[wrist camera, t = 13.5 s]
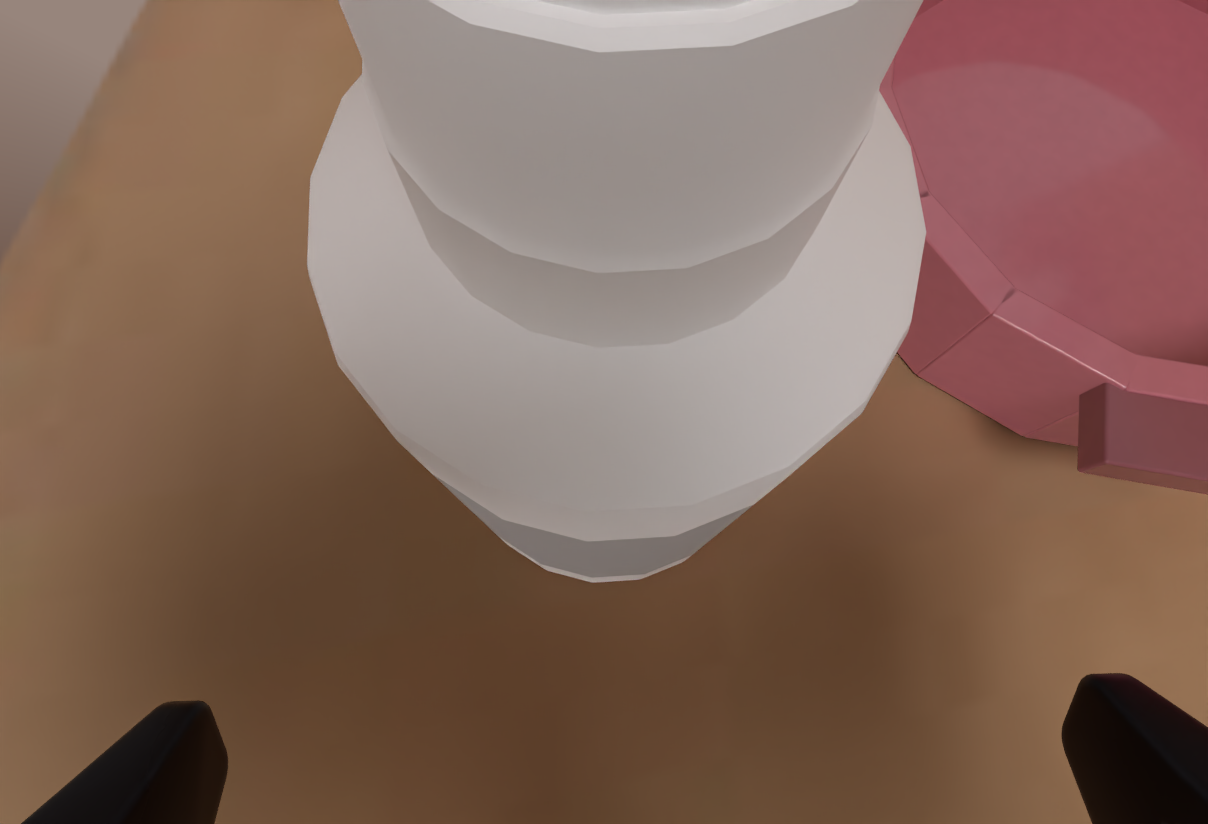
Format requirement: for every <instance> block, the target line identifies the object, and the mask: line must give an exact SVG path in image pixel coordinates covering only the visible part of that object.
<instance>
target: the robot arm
mask: <svg viewBox="0 0 1208 824" xmlns="http://www.w3.org/2000/svg"><path fill="white" fill-rule="evenodd" d="M1062 743H1063V747H1064V751H1065V754H1066V756H1067V759H1068V762H1069V764H1070V767H1071V769H1072V772H1073V775H1074V777H1075V780H1076V782H1077V785H1078V788H1079V790H1080V793H1081V795H1082V798H1083V801H1084V803H1085V806H1086V808H1087V811H1088V814H1089V816H1090V819H1091V821H1092V824H1208V727H1206V726H1205V725H1204V724H1202V723H1201V722H1199V721H1198V720H1196V719H1195V718H1193V717H1192V716H1190V715H1189V714H1187V713H1186V712H1184V711H1183V710H1181V709H1180V708H1178V707H1177V706H1176V705H1174V704H1173V703H1171V702H1170V701H1168V700H1167V699H1165V698H1164V697H1162V696H1161V695H1159V694H1158V693H1156V692H1155V691H1153V690H1152V689H1151V688H1149V687H1148V686H1146V685H1145V684H1143V683H1142V682H1140V681H1139V680H1137V679H1135V678H1134V677H1132V676H1129V675H1127V674H1122V673H1108V674H1090V675H1086V676H1085V677H1084V678H1083V679H1081V681H1080V683H1079V685H1078V687H1077V690H1076V692H1075V695H1074V697H1073V700H1072V702H1071V705H1070V707H1069V710H1068V712H1067V715H1066V717H1065V720H1064V723H1063V726H1062ZM227 770H228V756H227V751H226V748H225V745H224V742H223V740H222V737H221V734H220V732H219V729H218V726H217V724H216V721H215V718H214V716H213V713H212V711H211V709H210V707H209V705H207V704H206V703H205V702H204V701H172V702H166V703H163V704H162V705H160V706H158V707H157V708H155V709H154V710H153V711H152V712H150V713H149V714H148V715H147V716H146V717H145V718H143V719H142V720H141V721H140V722H139V723H138V724H136V725H135V726H134V727H133V728H132V729H131V730H130V731H128V732H127V733H126V734H125V735H124V736H123V737H121V738H120V739H119V740H118V741H117V742H116V743H114V744H113V745H112V746H111V747H110V748H109V749H107V750H106V751H105V752H104V753H103V754H102V755H100V756H99V757H98V758H97V759H96V760H95V761H93V762H92V763H91V764H90V765H89V766H88V767H86V768H85V769H84V770H83V771H82V772H81V773H79V774H78V775H77V776H76V777H75V778H74V779H73V780H71V781H70V782H69V783H68V784H67V785H66V786H64V787H63V788H62V789H61V790H60V791H59V792H57V793H56V794H55V795H54V796H53V797H52V798H50V799H49V800H48V801H47V802H46V803H45V804H43V805H42V806H41V807H40V808H39V809H38V810H36V811H35V812H34V813H33V814H32V815H31V816H29V817H28V818H27V819H26V820H25V821H24V822H22V823H21V824H214V823H215V819H216V815H217V811H218V807H219V803H220V800H221V796H222V792H223V788H224V784H225V780H226V776H227Z"/></svg>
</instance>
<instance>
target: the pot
mask: <svg viewBox="0 0 1208 824" xmlns="http://www.w3.org/2000/svg"><path fill="white" fill-rule="evenodd" d="M879 91H880V93H881V95H882V97H883V98H884V100H885V102H886V104H887V105H888V107H889V109H890V111H891V113H892V114H893V116H894V118H895V120H896V121H897V123H898V125H899V127H900V129H901V130H902V132H903V134H904V136H905V137H906V139H907V141H908V143H909V145H910V146H911V152H912V157H913V163H914V168H915V173H916V179H917V184H918V190H919V195H920V200H921V206H922V211H923V217H924V222H925V228H926V237H925V243H924V249H923V255H922V261H921V267H920V273H919V279H918V285H917V290H916V296H915V302H914V308H913V314H912V320H911V324H910V327H909V331H908V333H907V335H906V337H905V339H904V340H903V342H902V344H901V346H900V347H899V349H898V351H897V353H898V354H899V355H900V356H901V358H902V359H903V360H904V361H905V362H906V364H907V365H908V366H909V367H910V368H911V370H912V371H913V372H914V373H915V374H917V375H918V376H919V377H921V378H922V379H924V380H926V381H927V382H929V383H931V384H933V385H934V386H936V387H938V388H940V389H941V390H943V391H945V392H946V393H948V394H950V395H952V396H953V397H955V398H957V399H959V400H960V401H962V402H964V403H966V404H967V405H969V406H971V407H972V408H974V409H976V410H978V411H979V412H981V413H983V414H985V415H986V416H988V417H990V418H992V419H993V420H995V421H997V422H998V423H1000V424H1002V425H1004V426H1005V427H1007V428H1009V429H1011V430H1012V431H1014V432H1016V433H1017V434H1019V435H1021V436H1024V437H1026V438H1032V439H1038V440H1044V441H1049V442H1055V443H1061V444H1067V445H1073V446H1078V460H1077V469H1078V471H1079V472H1081V473H1087V474H1092V475H1098V476H1104V477H1110V478H1115V479H1121V480H1127V481H1133V482H1138V483H1144V484H1150V485H1156V486H1161V487H1167V488H1173V489H1179V490H1184V491H1190V492H1196V493H1201V494H1207V495H1208V0H923V2H922V4H921V6H920V8H919V10H918V12H917V14H916V16H915V18H914V20H913V22H912V24H911V25H910V27H909V29H908V31H907V33H906V35H905V37H904V39H903V41H902V43H901V45H900V47H899V49H898V51H897V53H896V55H895V57H894V59H893V60H892V62H891V64H890V66H889V68H888V70H887V72H886V74H885V76H884V78H883V80H882V82H881V84H880V88H879Z"/></svg>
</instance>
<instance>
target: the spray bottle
mask: <svg viewBox="0 0 1208 824" xmlns="http://www.w3.org/2000/svg"><path fill="white" fill-rule="evenodd" d="M338 1H339V4H340V6H341V8H342V11H343V13H344V16H345V18H346V21H347V23H348V25H349V28H350V30H351V33H352V35H353V37H354V40H355V42H356V45H357V47H358V50H359V52H360V54H361V57H362V74H361V76H360V77H359V78H358V79H357V80H356V82H355V83H354V84H353V85H352V86H351V88H350V89H349V90H348V91H347V92H346V94H345V95H344V96H343V97H342V99H341V102H340V104H339V107H338V109H337V112H336V114H335V117H334V119H333V122H332V124H331V127H330V129H329V132H328V134H327V137H326V139H325V142H324V144H323V147H322V150H321V152H320V155H319V157H318V160H317V162H316V165H315V167H314V170H313V172H312V175H311V177H310V200H309V227H308V254H307V268H308V273H309V278H310V281H311V284H312V287H313V290H314V293H315V296H316V299H317V302H318V305H319V309H320V312H321V315H322V318H323V321H324V324H325V327H326V330H327V333H328V336H329V339H330V342H331V345H332V348H333V352H334V355H335V358H336V361H337V364H338V366H339V367H340V368H341V370H342V371H343V372H344V373H345V375H346V376H347V377H348V379H349V380H350V381H351V382H352V384H353V385H354V386H355V388H356V389H357V390H358V391H359V393H360V394H361V395H362V397H363V398H364V399H365V400H366V402H367V403H368V404H369V406H370V407H371V408H372V409H373V411H374V412H375V413H376V415H377V416H378V417H379V418H380V420H381V421H382V422H383V423H384V425H385V426H386V427H387V429H388V430H389V431H390V432H391V434H392V435H393V436H394V438H395V439H396V440H397V441H398V442H399V443H400V444H401V445H402V446H403V447H404V448H405V449H406V450H407V451H408V452H409V453H410V454H411V455H413V456H414V457H415V458H416V459H417V460H418V461H419V462H420V463H421V464H422V465H423V466H424V467H425V468H426V469H427V470H428V471H430V472H431V473H432V474H433V475H434V476H435V477H436V478H437V479H438V480H439V481H440V482H441V483H442V484H443V485H444V486H445V487H447V488H448V489H449V490H450V491H451V492H452V493H453V494H454V495H455V496H456V497H457V498H458V499H459V500H460V501H461V502H462V503H463V504H465V505H466V506H467V507H468V508H469V509H470V510H471V511H472V512H473V513H474V514H475V515H476V516H477V517H478V518H479V519H480V520H482V521H483V522H484V523H485V524H486V525H487V526H488V527H489V528H490V529H491V530H492V531H493V532H494V533H495V534H496V535H497V536H499V537H500V538H501V539H502V540H503V541H504V542H505V543H506V544H507V545H508V546H510V547H511V548H513V549H514V550H516V551H517V552H519V553H521V554H522V555H524V556H525V557H527V558H528V559H530V560H531V561H533V562H534V563H536V564H537V565H539V566H540V567H542V568H543V569H545V570H547V571H550V572H554V573H558V574H562V575H565V576H569V577H573V578H577V579H581V580H584V581H588V582H592V583H595V582H611V581H627V580H640V579H643V578H645V577H648V576H650V575H653V574H655V573H658V572H660V571H663V570H665V569H668V568H670V567H672V566H675V565H677V564H680V563H682V562H684V561H685V560H687V559H688V558H689V557H690V556H692V555H693V554H694V553H695V552H697V551H698V550H699V549H700V548H701V547H703V546H704V545H705V544H706V543H708V542H709V541H710V540H711V539H712V538H714V537H715V536H716V535H717V534H719V533H720V532H721V531H722V530H723V529H725V528H726V527H727V526H728V525H730V524H731V523H732V522H733V521H734V520H736V519H737V518H738V517H739V516H741V515H742V514H743V513H744V512H746V511H747V510H748V509H749V508H750V507H752V506H753V505H754V504H755V503H757V502H758V501H759V500H760V499H761V498H763V497H764V496H765V495H766V494H768V493H769V492H770V491H771V490H772V489H774V488H775V487H776V486H777V485H779V484H780V483H781V482H782V481H784V480H785V479H786V478H787V477H788V476H789V475H791V474H792V473H793V472H794V471H795V470H796V469H798V468H799V467H800V466H801V465H802V464H803V463H805V462H806V461H807V460H808V459H809V458H810V457H812V456H813V455H814V454H815V453H816V452H817V451H819V450H820V449H821V448H822V447H823V446H824V445H826V444H827V443H828V442H829V441H830V440H831V439H833V438H834V437H835V436H836V435H837V434H838V433H840V432H841V431H842V430H843V429H844V428H845V427H847V426H848V425H849V424H850V423H851V422H852V421H854V420H855V419H856V418H857V417H858V416H859V415H861V414H862V412H863V411H864V409H865V407H866V405H867V403H868V402H869V400H870V398H871V396H872V395H873V393H874V391H875V389H876V388H877V386H878V384H879V382H880V381H881V379H882V377H883V375H884V374H885V372H886V370H887V368H888V367H889V365H890V363H891V361H892V360H893V358H894V356H895V354H896V353H897V351H898V349H899V347H900V346H901V344H902V342H903V340H904V339H905V337H906V335H907V333H908V331H909V327H910V324H911V320H912V314H913V308H914V302H915V296H916V290H917V285H918V279H919V273H920V267H921V261H922V255H923V249H924V243H925V237H926V228H925V222H924V217H923V211H922V206H921V200H920V195H919V190H918V184H917V179H916V173H915V168H914V163H913V157H912V152H911V146H910V145H909V143H908V141H907V139H906V137H905V136H904V134H903V132H902V130H901V129H900V127H899V125H898V123H897V121H896V120H895V118H894V116H893V114H892V113H891V111H890V109H889V107H888V105H887V104H886V102H885V100H884V98H883V97H882V95H881V93H880V91H879V88H880V84H881V82H882V80H883V78H884V76H885V74H886V72H887V70H888V68H889V66H890V64H891V62H892V60H893V59H894V57H895V55H896V53H897V51H898V49H899V47H900V45H901V43H902V41H903V39H904V37H905V35H906V33H907V31H908V29H909V27H910V25H911V24H912V22H913V20H914V18H915V16H916V14H917V12H918V10H919V8H920V6H921V4H922V2H923V0H338Z"/></svg>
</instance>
